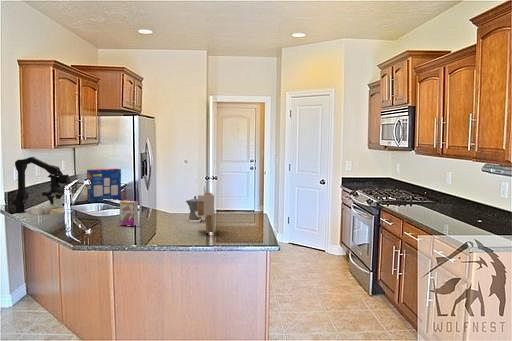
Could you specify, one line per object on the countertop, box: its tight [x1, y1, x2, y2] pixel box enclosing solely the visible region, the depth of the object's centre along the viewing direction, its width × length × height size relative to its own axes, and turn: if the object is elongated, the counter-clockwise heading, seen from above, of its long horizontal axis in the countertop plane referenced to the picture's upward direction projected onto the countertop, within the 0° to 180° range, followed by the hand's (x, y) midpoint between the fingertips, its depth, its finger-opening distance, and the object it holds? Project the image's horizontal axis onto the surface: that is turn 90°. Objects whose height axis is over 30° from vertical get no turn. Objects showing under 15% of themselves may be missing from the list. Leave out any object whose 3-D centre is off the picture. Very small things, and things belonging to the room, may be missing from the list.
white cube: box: [30, 206, 43, 216], centre depth 315 cm, size 5×5×5 cm
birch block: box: [44, 206, 65, 216], centre depth 319 cm, size 10×10×4 cm
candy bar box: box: [119, 200, 139, 226], centre depth 280 cm, size 11×5×16 cm, turn 71°
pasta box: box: [86, 168, 122, 203], centre depth 384 cm, size 28×8×28 cm, turn 135°
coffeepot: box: [185, 195, 202, 220], centre depth 300 cm, size 15×9×18 cm, turn 107°
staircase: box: [195, 186, 216, 234], centre depth 265 cm, size 10×16×29 cm, turn 16°
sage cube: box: [49, 197, 61, 207], centre depth 318 cm, size 5×5×5 cm
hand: (55, 204), depth 318 cm, fingers closed on sage cube, 5 cm apart
